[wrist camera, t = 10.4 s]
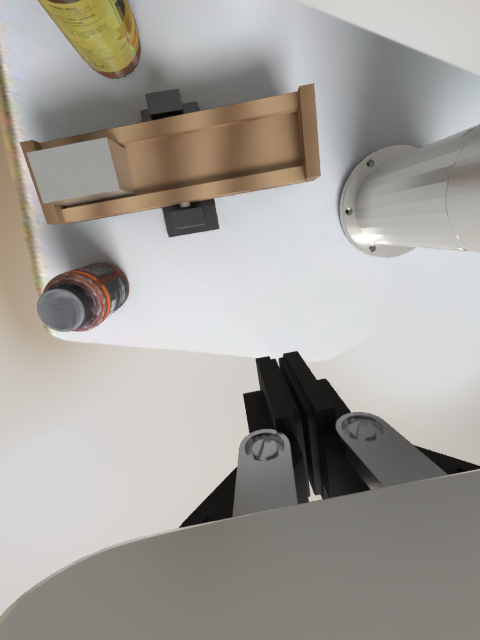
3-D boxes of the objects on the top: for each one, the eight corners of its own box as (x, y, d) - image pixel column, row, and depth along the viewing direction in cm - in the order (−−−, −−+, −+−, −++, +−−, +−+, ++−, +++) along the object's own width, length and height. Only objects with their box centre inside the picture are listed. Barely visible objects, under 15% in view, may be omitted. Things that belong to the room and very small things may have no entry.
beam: (301, 104, 30) (313, 77, 24) (308, 187, 32) (321, 180, 27) (56, 152, 32) (18, 137, 26) (80, 228, 34) (48, 228, 29)
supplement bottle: (72, 268, 36) (10, 285, 25) (120, 256, 36) (79, 267, 25) (91, 315, 38) (41, 349, 27) (137, 303, 38) (105, 332, 27)
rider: (125, 149, 28) (106, 137, 24) (136, 194, 29) (119, 189, 25) (55, 162, 29) (26, 152, 25) (69, 206, 30) (43, 203, 26)
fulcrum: (293, 88, 32) (309, 59, 27) (304, 214, 36) (320, 211, 30) (48, 127, 31) (12, 104, 26) (86, 251, 35) (62, 255, 30)
